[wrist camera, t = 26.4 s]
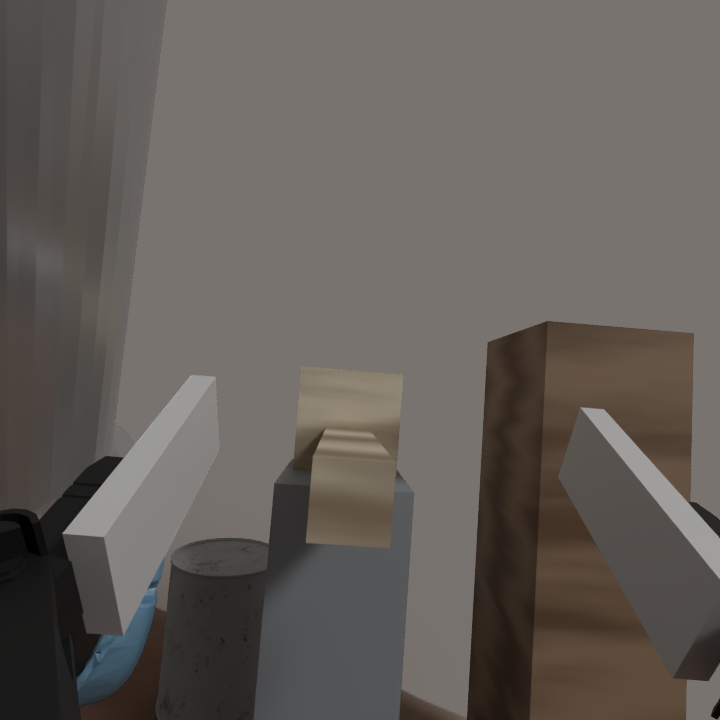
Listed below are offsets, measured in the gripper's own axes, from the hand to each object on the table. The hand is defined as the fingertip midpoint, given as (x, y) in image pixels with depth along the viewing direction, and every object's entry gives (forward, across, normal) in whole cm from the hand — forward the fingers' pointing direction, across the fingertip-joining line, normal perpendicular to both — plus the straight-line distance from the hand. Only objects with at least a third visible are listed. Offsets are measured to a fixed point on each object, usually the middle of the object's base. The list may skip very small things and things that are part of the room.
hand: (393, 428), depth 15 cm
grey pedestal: (+2, -1, -31) cm, 31 cm away
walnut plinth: (0, +13, -30) cm, 32 cm away
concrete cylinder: (+12, -11, -37) cm, 40 cm away
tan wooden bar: (+8, -1, -10) cm, 13 cm away
